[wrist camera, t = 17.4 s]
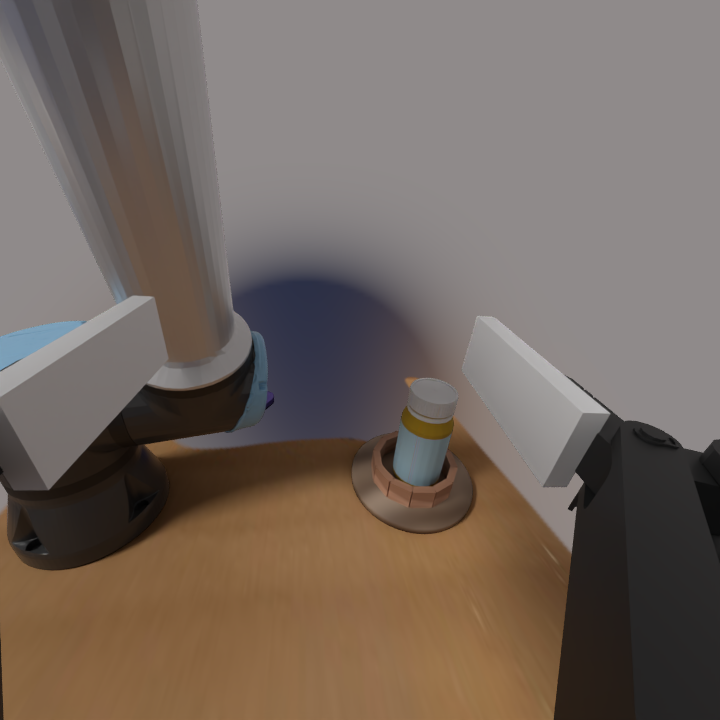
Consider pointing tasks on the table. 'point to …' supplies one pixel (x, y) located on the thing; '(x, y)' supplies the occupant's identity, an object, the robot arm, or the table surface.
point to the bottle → (425, 432)
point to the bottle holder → (409, 490)
